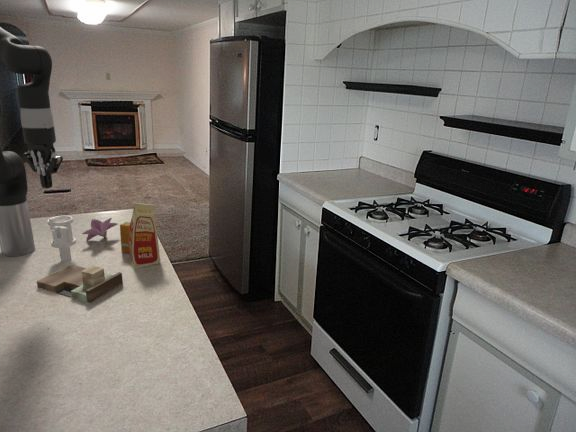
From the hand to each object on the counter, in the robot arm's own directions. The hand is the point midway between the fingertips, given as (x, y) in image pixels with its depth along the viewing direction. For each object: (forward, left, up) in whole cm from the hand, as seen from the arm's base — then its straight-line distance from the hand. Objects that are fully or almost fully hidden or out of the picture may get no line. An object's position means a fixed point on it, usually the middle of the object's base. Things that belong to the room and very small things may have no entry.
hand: (47, 187), depth 119 cm
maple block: (+16, -3, -25) cm, 30 cm away
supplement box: (+6, +22, -27) cm, 35 cm away
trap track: (+12, -3, -27) cm, 29 cm away
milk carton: (+16, +19, -27) cm, 37 cm away
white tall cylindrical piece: (-7, +8, -27) cm, 29 cm away
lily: (-9, +25, -27) cm, 38 cm away
